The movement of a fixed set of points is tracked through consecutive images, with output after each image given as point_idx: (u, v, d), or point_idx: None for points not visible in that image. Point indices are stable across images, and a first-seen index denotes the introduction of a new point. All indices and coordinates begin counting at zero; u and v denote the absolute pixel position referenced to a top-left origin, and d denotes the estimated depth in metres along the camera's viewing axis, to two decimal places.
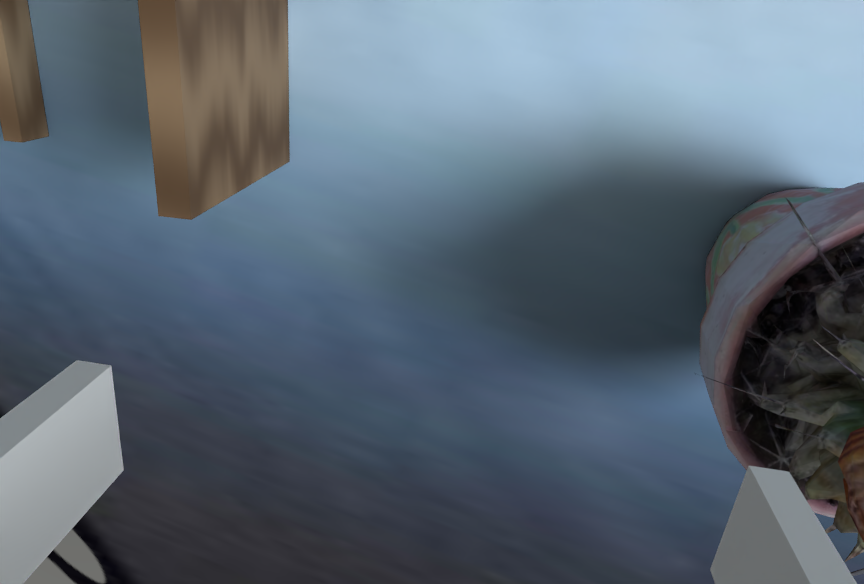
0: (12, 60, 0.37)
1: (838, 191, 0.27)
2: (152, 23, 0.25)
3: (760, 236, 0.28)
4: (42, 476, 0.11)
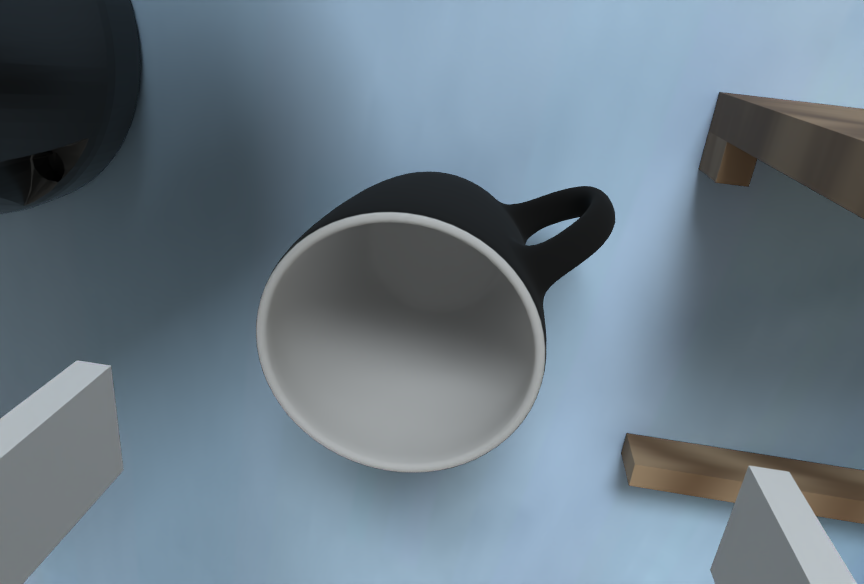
0: None
1: None
2: None
3: None
4: (42, 476, 0.11)
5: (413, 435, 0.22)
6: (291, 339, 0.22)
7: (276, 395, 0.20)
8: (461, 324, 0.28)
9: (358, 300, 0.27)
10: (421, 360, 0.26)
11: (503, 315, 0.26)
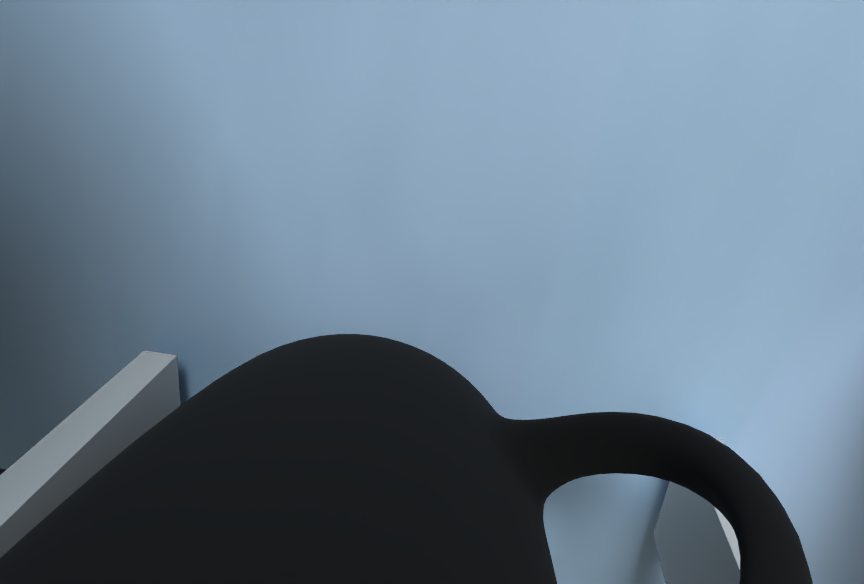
0: None
1: None
2: None
3: None
4: None
5: None
6: None
7: None
8: None
9: None
10: None
11: None
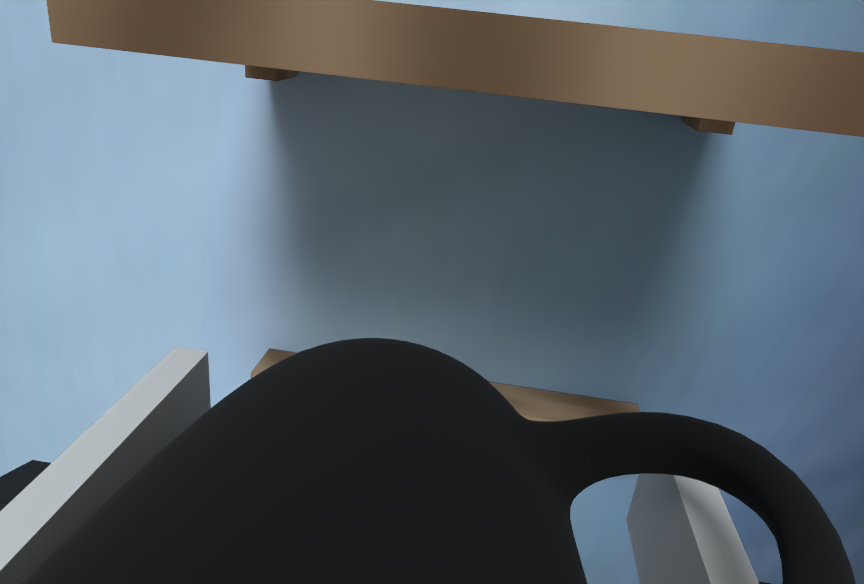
0: (538, 413, 0.29)
1: None
2: (524, 70, 0.13)
3: None
4: (157, 452, 0.12)
5: None
6: None
7: None
8: None
9: None
10: None
11: None
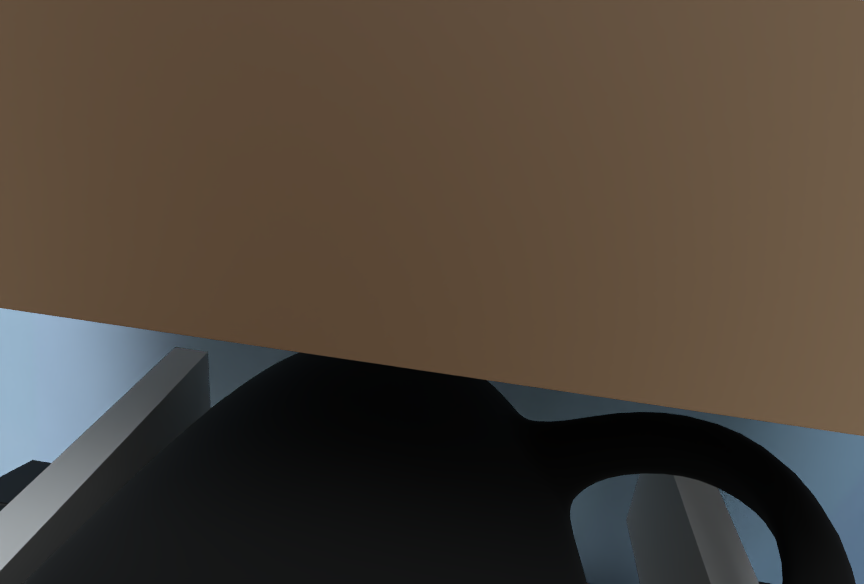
0: None
1: None
2: (541, 266, 0.02)
3: None
4: (157, 452, 0.12)
5: None
6: None
7: None
8: None
9: None
10: None
11: None
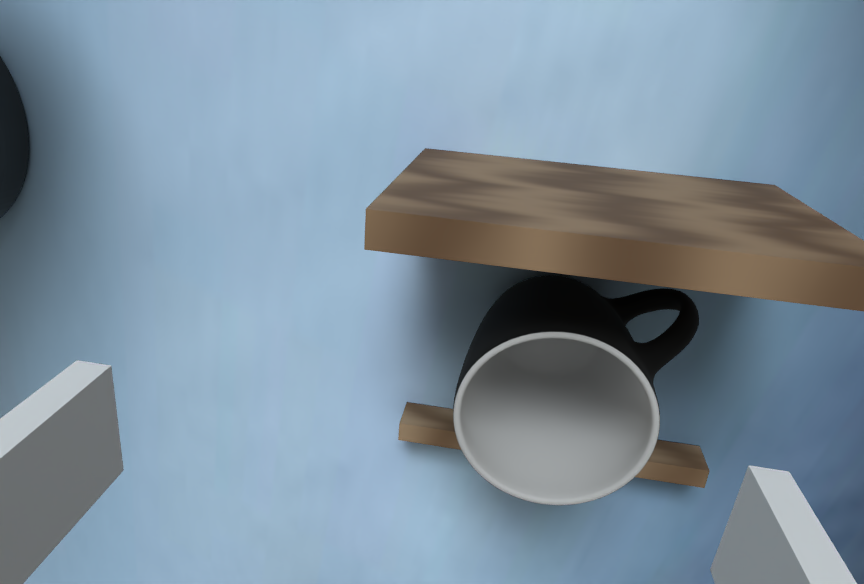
0: None
1: None
2: (657, 271, 0.22)
3: None
4: (42, 476, 0.11)
5: (557, 477, 0.31)
6: (467, 412, 0.30)
7: (465, 454, 0.29)
8: (573, 386, 0.37)
9: (494, 371, 0.36)
10: (547, 416, 0.35)
11: (609, 380, 0.34)
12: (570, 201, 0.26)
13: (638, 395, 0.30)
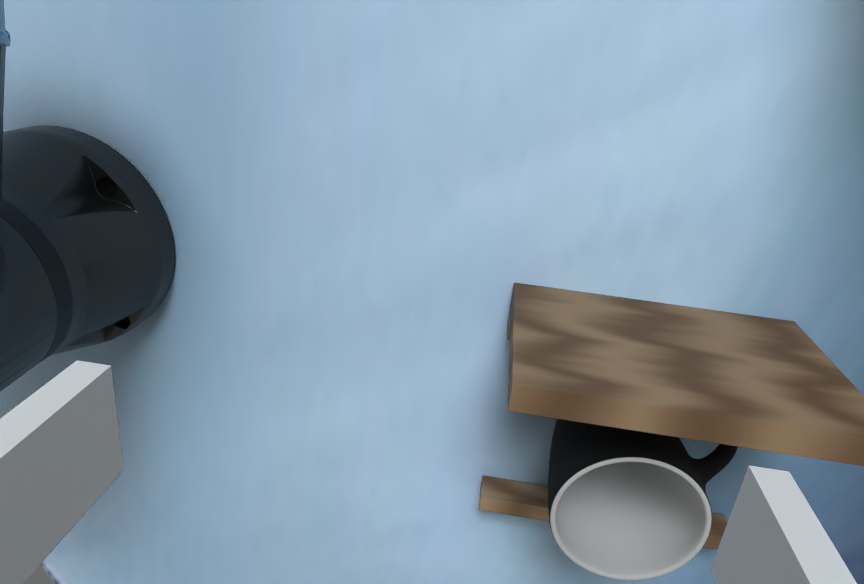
0: None
1: None
2: (725, 435, 0.30)
3: None
4: (42, 476, 0.11)
5: (623, 554, 0.39)
6: None
7: (557, 541, 0.37)
8: (625, 469, 0.45)
9: None
10: (607, 497, 0.43)
11: (658, 470, 0.43)
12: (650, 361, 0.34)
13: (689, 492, 0.38)
